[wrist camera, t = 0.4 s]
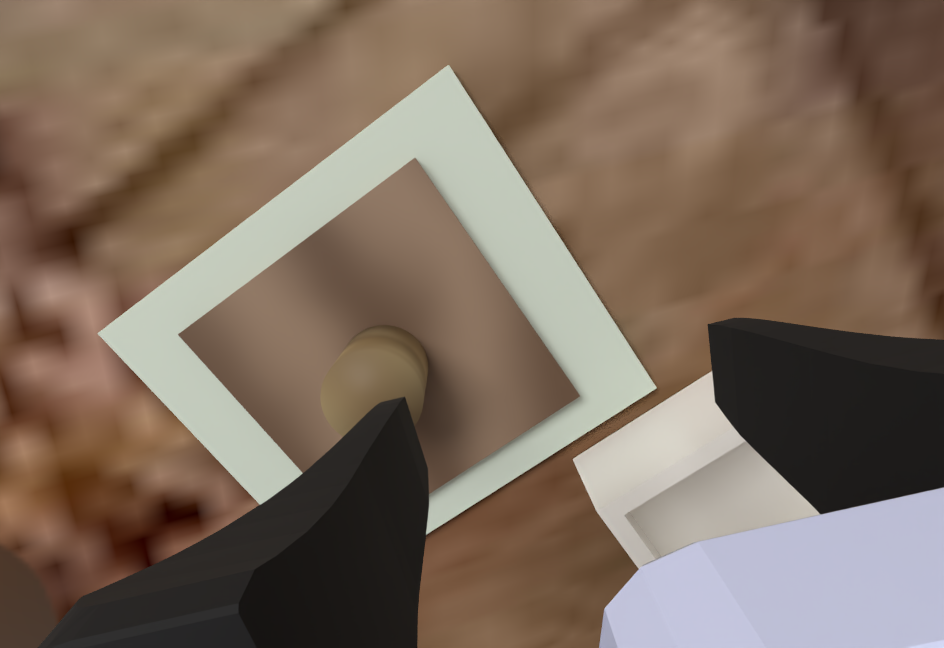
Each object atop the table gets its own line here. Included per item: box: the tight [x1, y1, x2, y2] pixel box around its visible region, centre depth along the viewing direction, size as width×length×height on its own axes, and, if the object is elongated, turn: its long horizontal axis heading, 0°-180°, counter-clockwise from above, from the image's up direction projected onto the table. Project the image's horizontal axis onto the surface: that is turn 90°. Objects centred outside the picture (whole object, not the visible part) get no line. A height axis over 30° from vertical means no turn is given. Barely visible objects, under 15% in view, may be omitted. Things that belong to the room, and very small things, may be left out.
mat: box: [98, 65, 656, 535], centre depth 21 cm, size 18×16×1 cm
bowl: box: [573, 371, 820, 569], centre depth 22 cm, size 10×10×4 cm
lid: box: [178, 158, 580, 494], centre depth 19 cm, size 12×12×4 cm
